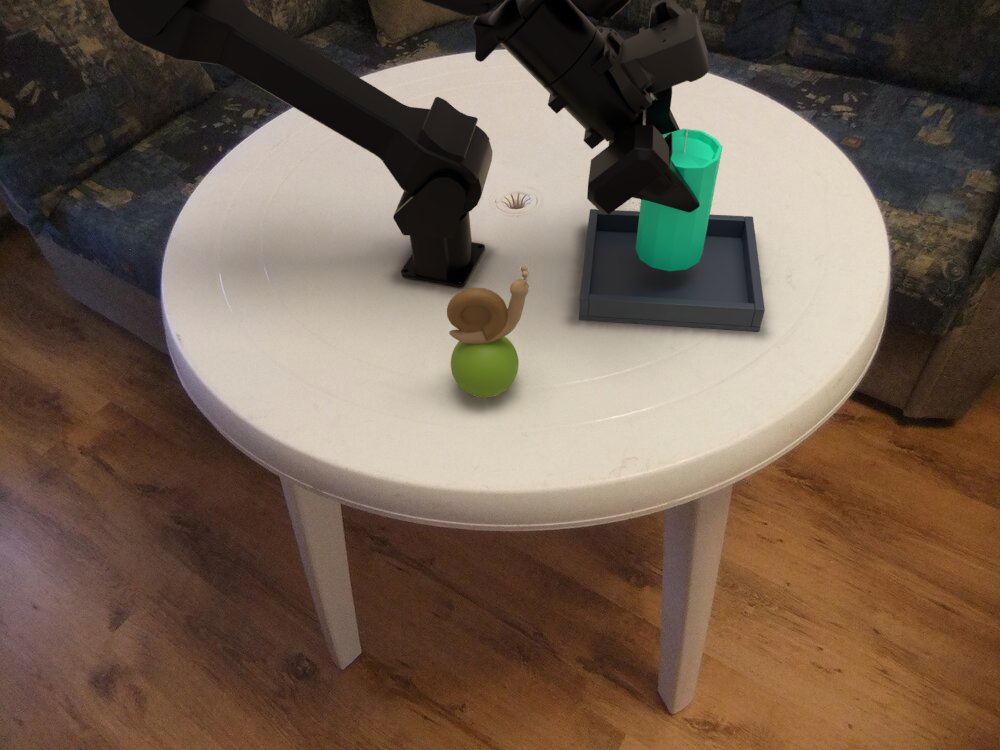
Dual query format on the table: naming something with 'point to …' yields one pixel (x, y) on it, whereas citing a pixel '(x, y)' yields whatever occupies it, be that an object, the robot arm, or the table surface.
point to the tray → (672, 277)
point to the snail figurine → (485, 338)
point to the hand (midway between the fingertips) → (694, 189)
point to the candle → (673, 232)
